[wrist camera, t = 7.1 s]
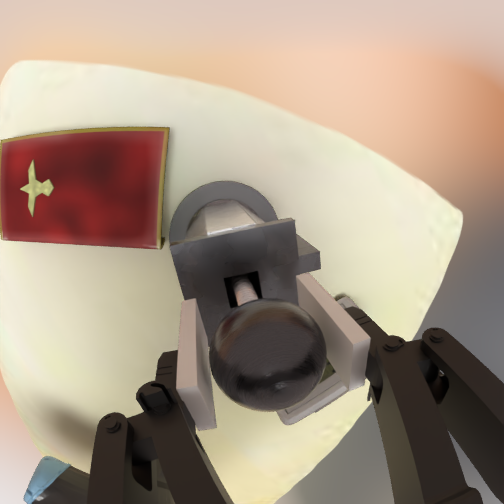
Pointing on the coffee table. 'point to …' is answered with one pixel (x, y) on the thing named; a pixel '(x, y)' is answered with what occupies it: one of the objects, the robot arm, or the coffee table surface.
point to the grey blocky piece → (238, 258)
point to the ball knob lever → (266, 351)
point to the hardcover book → (85, 187)
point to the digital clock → (319, 389)
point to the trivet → (214, 193)
